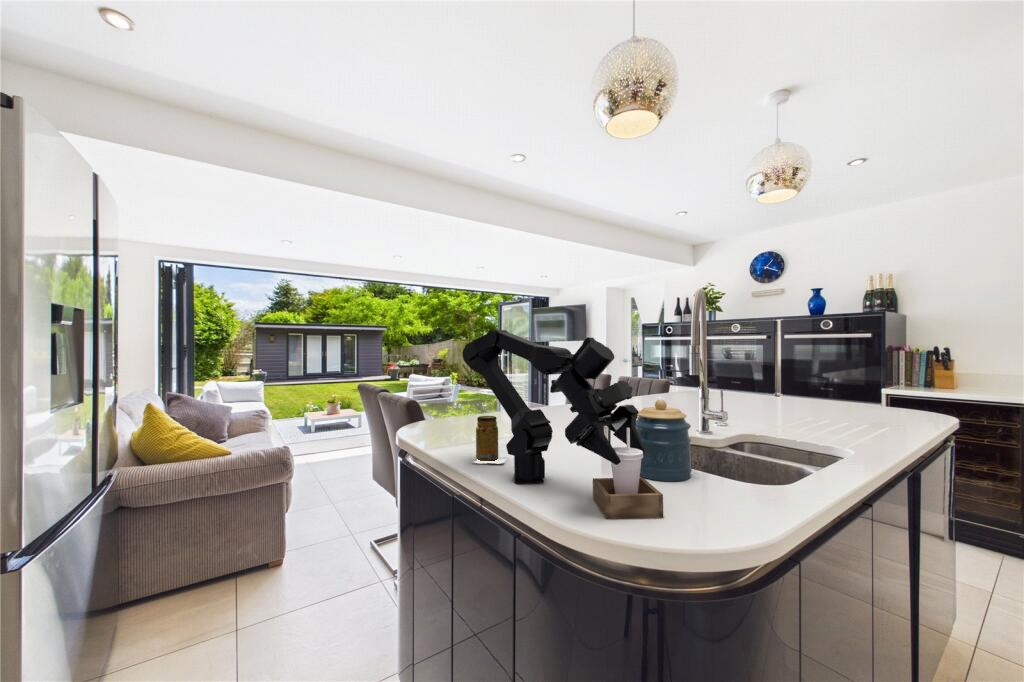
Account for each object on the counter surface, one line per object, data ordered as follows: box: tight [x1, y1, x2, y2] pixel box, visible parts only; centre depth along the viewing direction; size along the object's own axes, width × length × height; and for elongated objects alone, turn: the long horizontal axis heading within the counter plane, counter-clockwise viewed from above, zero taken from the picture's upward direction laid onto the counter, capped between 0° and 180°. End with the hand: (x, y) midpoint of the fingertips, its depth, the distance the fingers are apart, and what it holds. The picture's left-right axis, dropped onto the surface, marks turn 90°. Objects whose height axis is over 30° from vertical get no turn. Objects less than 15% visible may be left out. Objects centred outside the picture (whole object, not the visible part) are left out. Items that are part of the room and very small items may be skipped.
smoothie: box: [610, 428, 643, 494], centre depth 77 cm, size 6×6×14 cm
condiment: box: [475, 415, 499, 461], centre depth 111 cm, size 7×8×12 cm
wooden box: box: [592, 476, 665, 520], centre depth 77 cm, size 10×10×4 cm
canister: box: [635, 399, 693, 482], centre depth 98 cm, size 13×13×18 cm
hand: (631, 458), depth 76 cm, fingers open, 9 cm apart
